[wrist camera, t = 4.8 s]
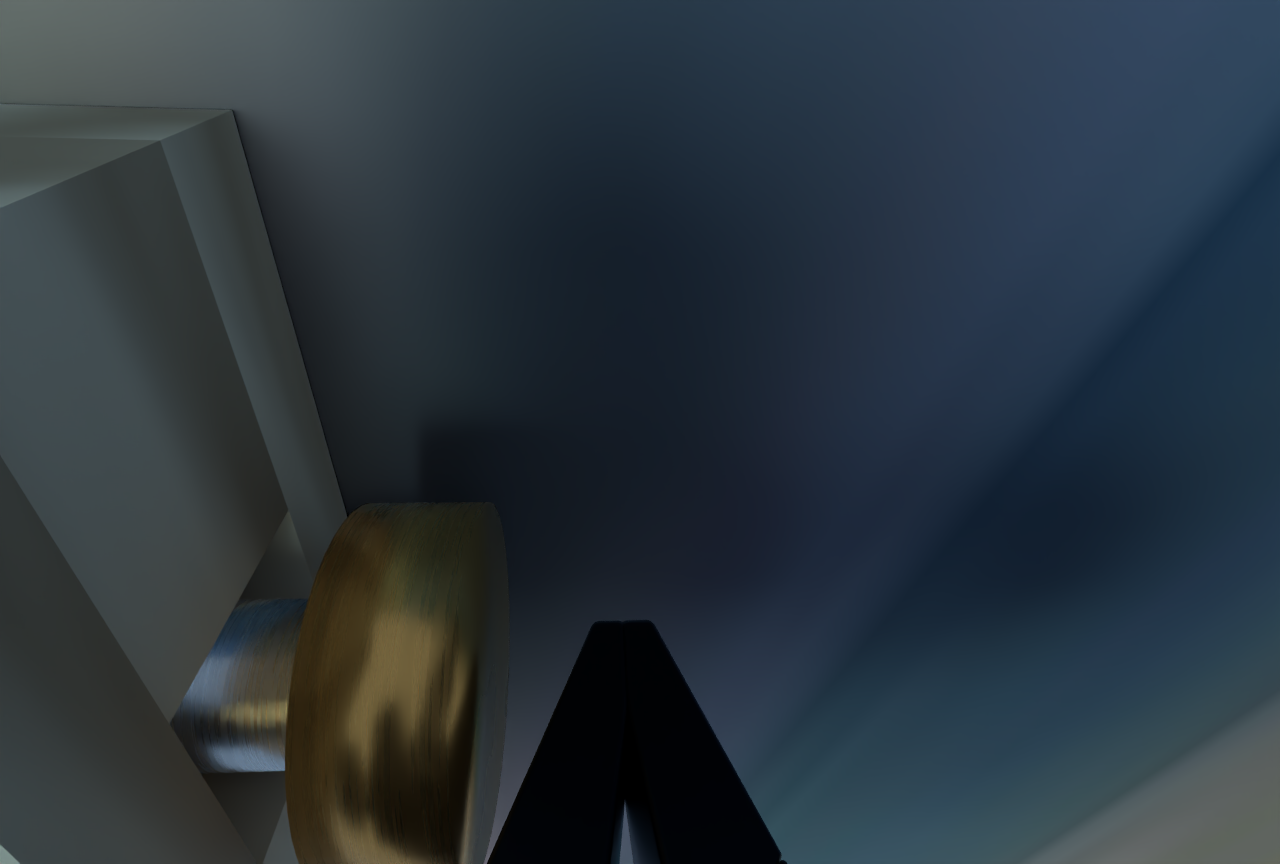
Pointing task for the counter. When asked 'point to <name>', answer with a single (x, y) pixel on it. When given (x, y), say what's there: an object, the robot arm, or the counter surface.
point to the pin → (372, 689)
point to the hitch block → (140, 478)
